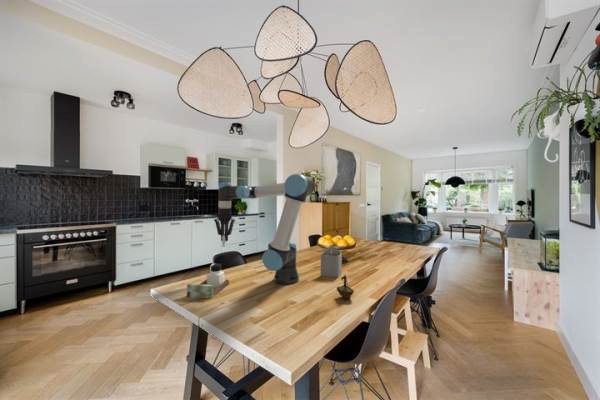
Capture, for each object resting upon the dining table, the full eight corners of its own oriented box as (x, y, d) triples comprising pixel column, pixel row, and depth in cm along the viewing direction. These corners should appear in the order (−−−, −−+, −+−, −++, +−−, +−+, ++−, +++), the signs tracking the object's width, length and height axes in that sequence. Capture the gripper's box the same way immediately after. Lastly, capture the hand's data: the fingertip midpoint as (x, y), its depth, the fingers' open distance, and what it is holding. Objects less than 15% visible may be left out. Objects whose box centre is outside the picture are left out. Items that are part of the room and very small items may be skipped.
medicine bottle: (224, 283, 138) (224, 262, 138) (218, 288, 131) (219, 266, 131) (212, 282, 139) (212, 262, 139) (206, 287, 132) (206, 265, 132)
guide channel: (228, 284, 137) (228, 273, 137) (211, 298, 118) (211, 286, 118) (207, 282, 139) (207, 272, 139) (187, 296, 119) (187, 284, 119)
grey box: (327, 279, 147) (327, 248, 147) (320, 275, 154) (320, 245, 154) (348, 276, 154) (348, 246, 154) (341, 272, 161) (341, 243, 161)
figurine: (357, 301, 116) (357, 276, 116) (342, 303, 114) (342, 278, 114) (347, 293, 126) (347, 270, 126) (333, 295, 123) (333, 271, 123)
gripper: (237, 207, 149) (237, 245, 149) (217, 207, 151) (217, 244, 151) (232, 208, 141) (232, 248, 142) (211, 207, 143) (211, 247, 143)
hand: (224, 246), depth 146 cm, fingers closed
